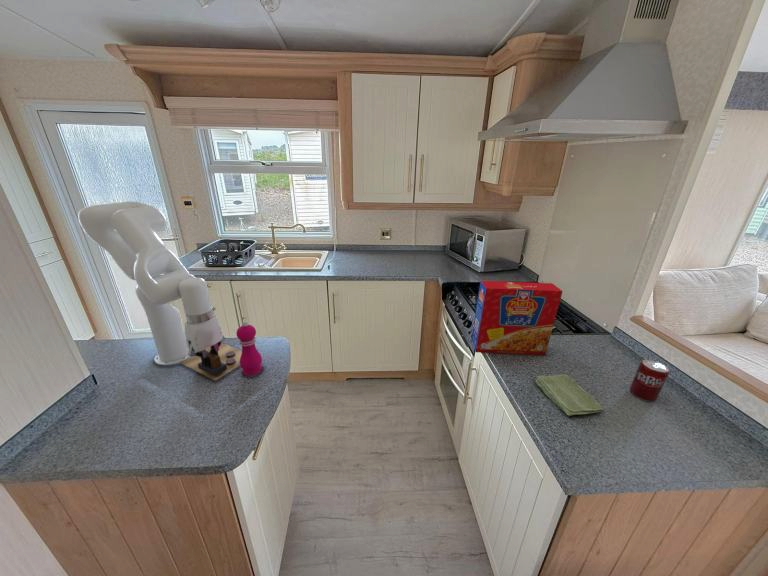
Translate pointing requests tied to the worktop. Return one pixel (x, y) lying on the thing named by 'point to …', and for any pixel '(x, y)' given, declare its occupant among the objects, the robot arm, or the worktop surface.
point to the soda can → (649, 380)
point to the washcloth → (568, 395)
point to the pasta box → (515, 317)
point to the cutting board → (223, 349)
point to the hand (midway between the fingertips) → (211, 362)
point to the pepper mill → (249, 350)
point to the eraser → (213, 365)
